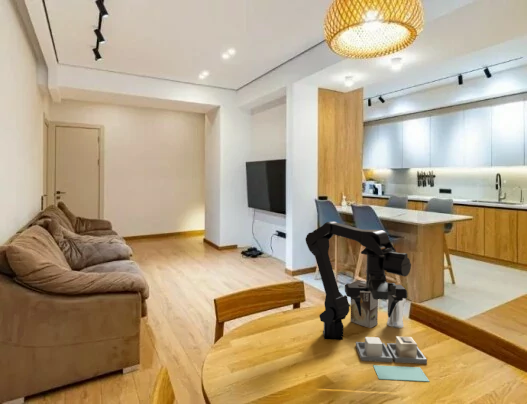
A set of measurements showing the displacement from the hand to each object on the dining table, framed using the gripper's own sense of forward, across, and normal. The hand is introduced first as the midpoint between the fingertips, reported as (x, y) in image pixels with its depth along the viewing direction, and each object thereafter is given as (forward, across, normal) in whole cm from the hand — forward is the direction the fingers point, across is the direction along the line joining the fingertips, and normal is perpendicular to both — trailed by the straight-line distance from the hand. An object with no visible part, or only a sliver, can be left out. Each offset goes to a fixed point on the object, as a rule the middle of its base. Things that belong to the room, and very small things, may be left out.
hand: (374, 316), depth 111 cm
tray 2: (+13, +10, 0) cm, 17 cm away
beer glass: (+13, +14, +24) cm, 31 cm away
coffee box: (+13, +2, +25) cm, 28 cm away
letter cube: (+13, +10, 0) cm, 16 cm away
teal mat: (+13, +5, -11) cm, 18 cm away
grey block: (+13, 0, 0) cm, 13 cm away
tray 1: (+13, 0, 0) cm, 13 cm away
